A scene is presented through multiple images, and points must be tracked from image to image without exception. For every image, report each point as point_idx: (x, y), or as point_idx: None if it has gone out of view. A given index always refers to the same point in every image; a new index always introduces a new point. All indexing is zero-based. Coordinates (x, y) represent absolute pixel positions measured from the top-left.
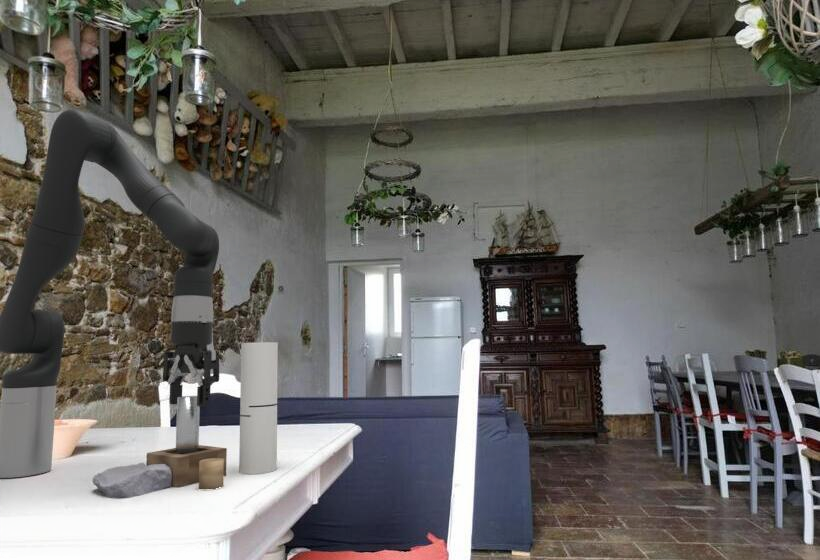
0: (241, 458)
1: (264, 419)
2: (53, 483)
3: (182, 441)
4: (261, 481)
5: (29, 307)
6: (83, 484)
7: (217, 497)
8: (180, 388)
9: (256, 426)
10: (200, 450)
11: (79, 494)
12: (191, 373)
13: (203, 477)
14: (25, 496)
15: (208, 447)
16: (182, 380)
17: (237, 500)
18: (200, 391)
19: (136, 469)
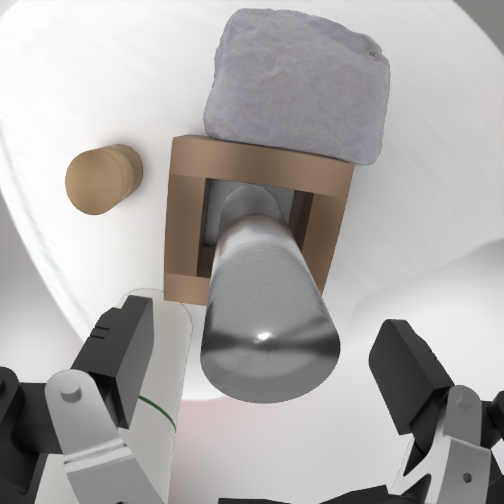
0: (153, 310)
1: None
2: (486, 103)
3: (240, 215)
4: (67, 250)
5: None
6: (436, 101)
7: (47, 121)
8: (397, 410)
9: None
10: None
11: (366, 27)
12: (138, 472)
13: (102, 147)
14: (443, 12)
15: None
16: (407, 454)
17: (9, 129)
18: (102, 352)
19: (278, 70)
